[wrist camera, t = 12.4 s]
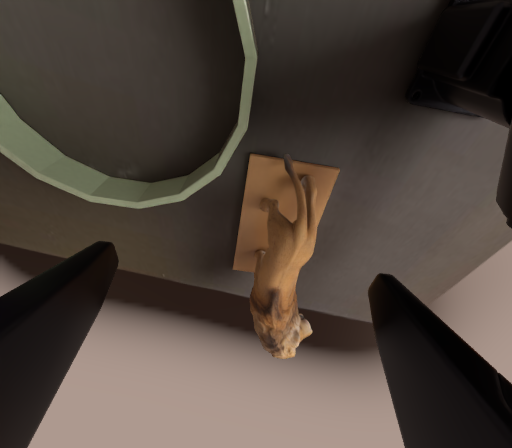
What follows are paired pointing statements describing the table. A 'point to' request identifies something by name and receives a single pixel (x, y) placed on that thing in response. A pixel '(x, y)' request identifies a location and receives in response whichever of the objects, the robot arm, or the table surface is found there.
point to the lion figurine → (284, 270)
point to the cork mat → (282, 189)
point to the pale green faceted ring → (117, 189)
